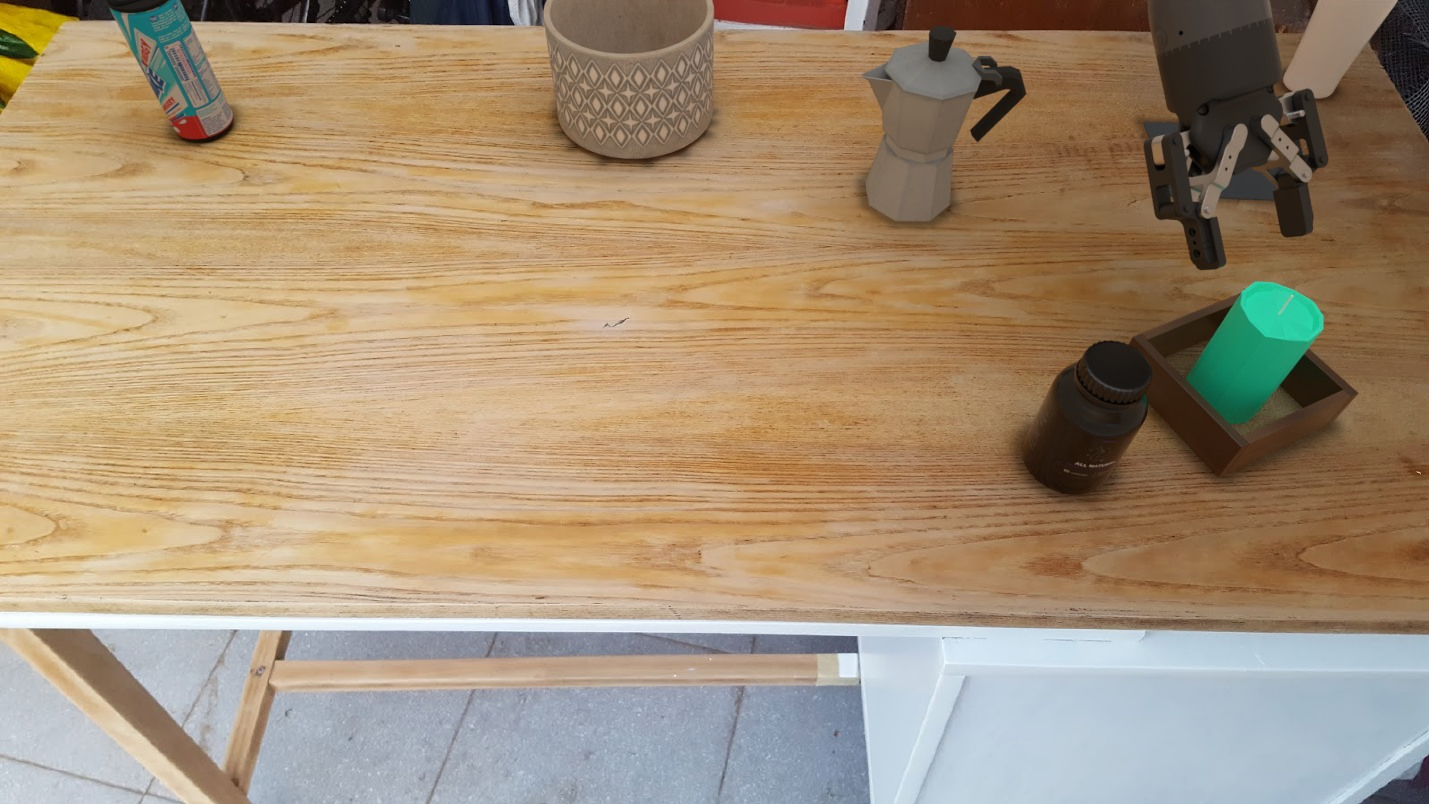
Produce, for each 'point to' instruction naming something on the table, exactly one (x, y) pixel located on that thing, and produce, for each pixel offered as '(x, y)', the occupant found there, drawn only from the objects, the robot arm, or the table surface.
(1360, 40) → the cream tall cylinder
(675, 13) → the planter
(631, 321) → the table surface
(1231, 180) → the mat
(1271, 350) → the candle
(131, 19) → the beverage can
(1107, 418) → the supplement bottle
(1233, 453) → the brown wooden tray
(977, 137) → the coffee maker
